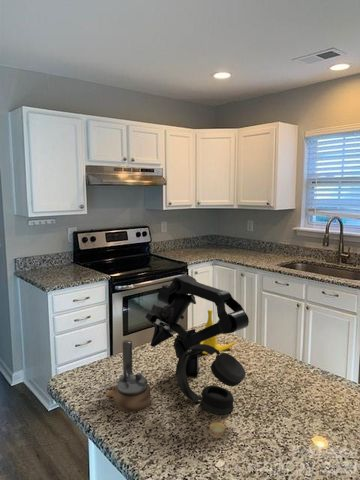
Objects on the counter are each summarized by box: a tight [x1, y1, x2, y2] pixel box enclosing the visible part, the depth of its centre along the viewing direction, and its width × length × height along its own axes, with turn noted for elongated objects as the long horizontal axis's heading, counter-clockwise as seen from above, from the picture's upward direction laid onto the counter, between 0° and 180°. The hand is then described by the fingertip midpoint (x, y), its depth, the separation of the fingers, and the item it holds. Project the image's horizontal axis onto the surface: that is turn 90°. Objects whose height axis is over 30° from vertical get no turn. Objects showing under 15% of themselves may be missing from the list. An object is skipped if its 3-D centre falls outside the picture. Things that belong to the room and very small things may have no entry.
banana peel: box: [200, 309, 236, 355], centre depth 154 cm, size 16×19×17 cm
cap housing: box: [106, 383, 152, 413], centre depth 113 cm, size 15×11×4 cm
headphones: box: [175, 344, 246, 415], centre depth 110 cm, size 18×8×20 cm
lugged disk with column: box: [117, 339, 148, 396], centre depth 114 cm, size 14×9×15 cm, turn 18°
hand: (151, 346), depth 125 cm, fingers closed
